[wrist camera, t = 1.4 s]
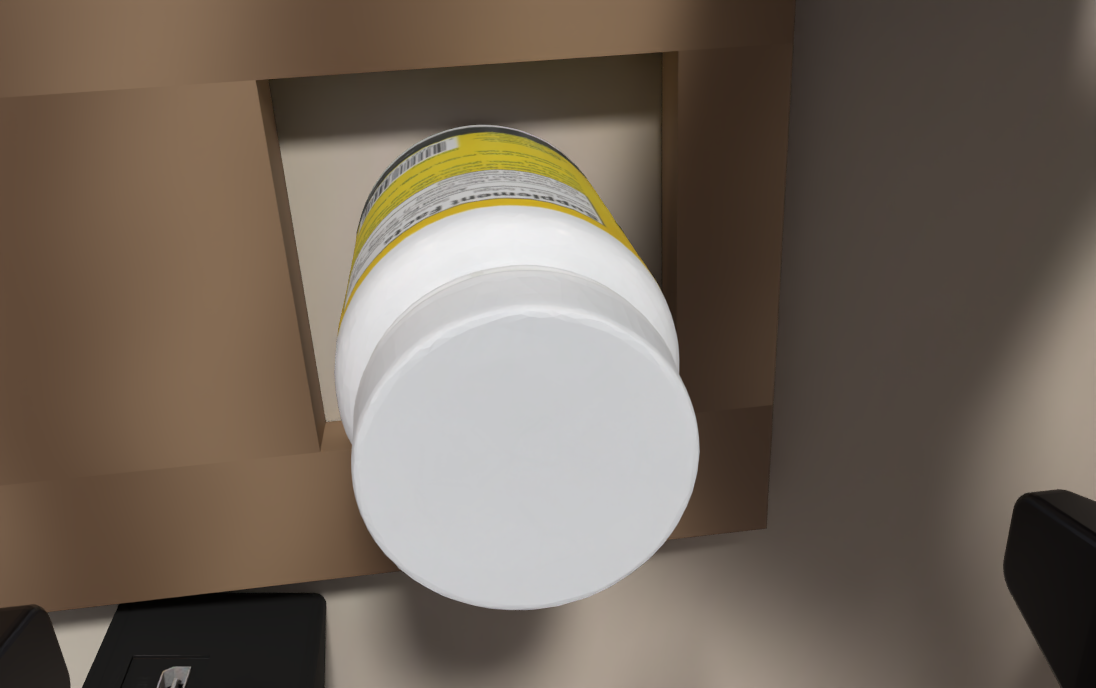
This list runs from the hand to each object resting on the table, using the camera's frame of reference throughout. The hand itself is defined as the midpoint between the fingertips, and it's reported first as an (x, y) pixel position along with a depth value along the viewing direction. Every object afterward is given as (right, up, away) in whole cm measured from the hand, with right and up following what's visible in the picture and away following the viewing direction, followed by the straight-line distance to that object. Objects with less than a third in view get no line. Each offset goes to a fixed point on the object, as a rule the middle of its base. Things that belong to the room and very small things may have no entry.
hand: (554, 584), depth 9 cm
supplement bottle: (-1, +4, +10) cm, 11 cm away
